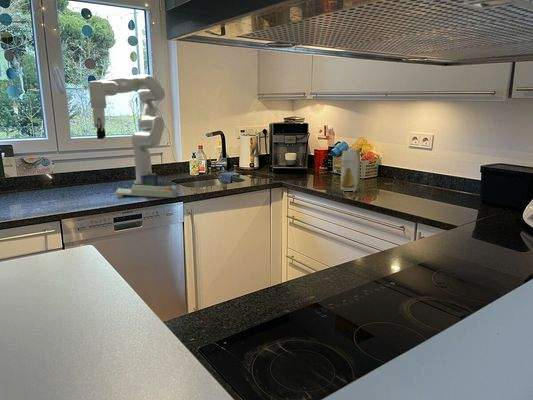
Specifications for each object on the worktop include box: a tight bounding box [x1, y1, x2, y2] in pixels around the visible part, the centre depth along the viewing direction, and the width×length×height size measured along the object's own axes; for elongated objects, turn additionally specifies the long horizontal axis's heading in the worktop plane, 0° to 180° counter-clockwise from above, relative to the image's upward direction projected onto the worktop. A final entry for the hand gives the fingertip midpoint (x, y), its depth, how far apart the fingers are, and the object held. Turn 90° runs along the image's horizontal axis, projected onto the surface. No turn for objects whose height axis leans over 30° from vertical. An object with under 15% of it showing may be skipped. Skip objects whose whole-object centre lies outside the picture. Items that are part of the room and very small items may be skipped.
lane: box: [115, 184, 178, 199], centre depth 215 cm, size 11×30×6 cm, turn 106°
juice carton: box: [340, 147, 361, 193], centre depth 227 cm, size 9×8×24 cm
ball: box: [164, 185, 172, 191], centre depth 218 cm, size 4×4×4 cm
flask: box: [140, 171, 159, 186], centre depth 233 cm, size 9×3×11 cm, turn 109°
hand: (101, 138), depth 218 cm, fingers open, 9 cm apart
